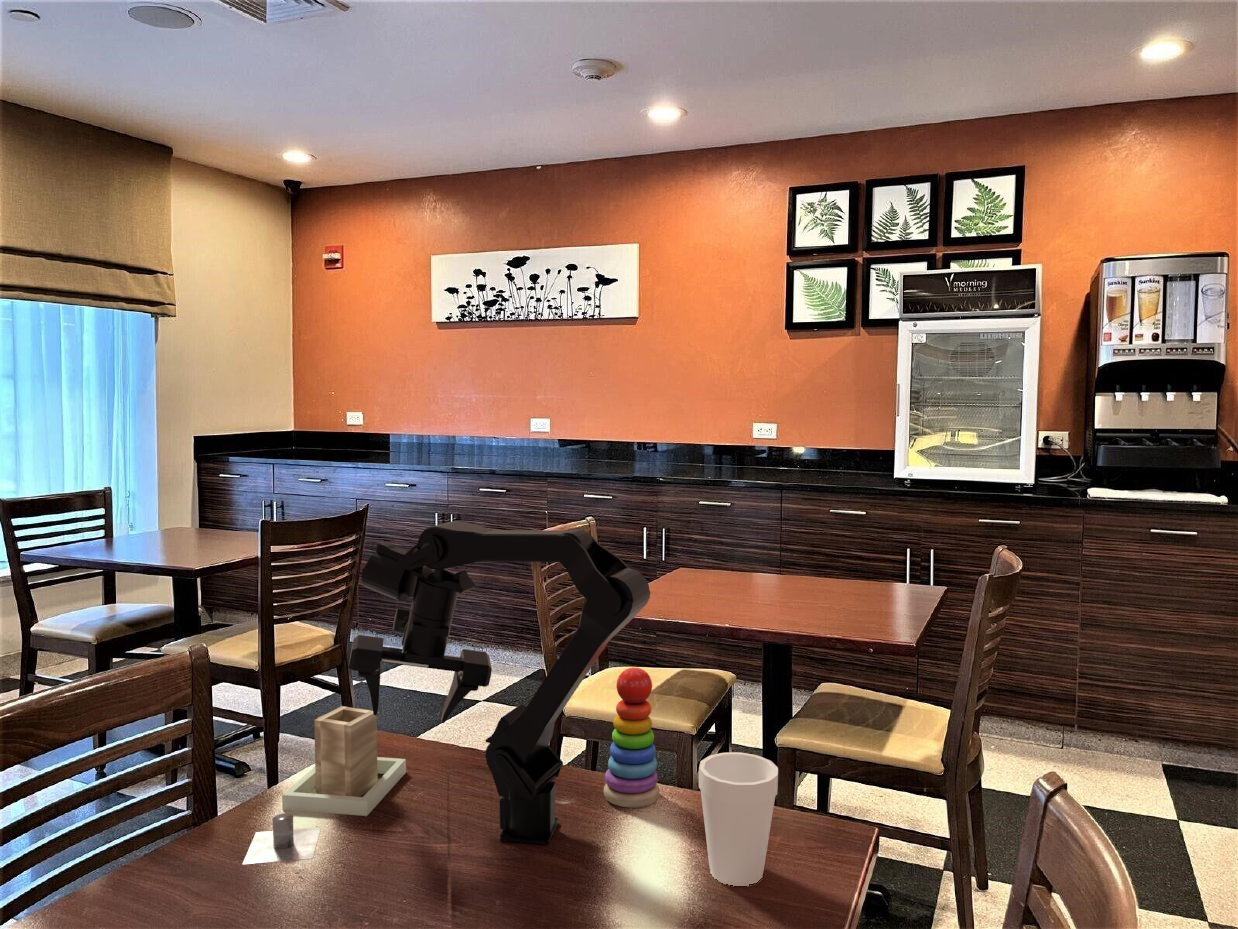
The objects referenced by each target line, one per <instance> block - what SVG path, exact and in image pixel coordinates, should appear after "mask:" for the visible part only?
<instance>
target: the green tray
mask: <svg viewBox="0 0 1238 929" xmlns="http://www.w3.org/2000/svg"><path fill="white" fill-rule="evenodd" d="M406 773H407V760H406V758H395V757H383V756H382V757H380V756H377V775H379V774H380V775H381V774H382V776H381V778H380V779H378V782H377V783H376V784H375V785H374V786H373V787H372V788H371V789H370V790H369V791H368V792H366V793H365V794H363V795H362V796H360V797H352V796H339V795H325V794H316V793H310V792H311V791H313V789H314V788H316V780H315V766H314V767H313V768H312V769H310V770H309V771H308V772H307V773H306V774H305V775H303V776H302V777H301V778H299V780H298V781H296V783H294V784H293V785H292V786H290V787H289V788H288V789H287V790H286V791H285V792H284V793H282V794H281V795H282V796H281V798H282V799H281V800H282V802H281V803H282V806H281V807H282V810H285V811H297V812H299V811H300V812H307V813H308V812H311V813H323V814H324V813H325V814H338V815H351V816H364V817H367V816H368V815H369V814H370V813H371V812H372V811H373V810H374V809H375V808H376V807H377V806H378V804H379V803H380V802H381V801H382V800H383V799H384V798H385V797H386V795H387V794H388V793H389V792H390V791H391V790H392V789H393V788H394V787H395V785H396V784H397V783H399V781H400V780H401V778H403V776H404V775H405V774H406Z"/></svg>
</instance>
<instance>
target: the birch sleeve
mask: <svg viewBox="0 0 1238 929" xmlns="http://www.w3.org/2000/svg"><path fill="white" fill-rule="evenodd" d="M377 715H378V714H377ZM377 715H374V714H373V710H369V709H363V708H357V707H356V708H355V707H349V706H344V705H342V706H341V705H340V707H337V708H336V709H334V710H331V711H329V712H327V713H326V714H323V715H320V716H318V717H317V718H316V719H314V765H315V766H314V767H315V780H316V786H315V794H325V795H339V796H352V797H363V796H364V795H365V794H366V793H367V792H368V791H369V790H370V789H371V788H372V787H373V786H374V785H375V784H376V783H377V782H378V781H379V779H378V773H377V757H378V724H377V723H378V716H377Z"/></svg>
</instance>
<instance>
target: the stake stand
mask: <svg viewBox="0 0 1238 929" xmlns="http://www.w3.org/2000/svg"><path fill="white" fill-rule="evenodd" d="M321 829H322V826H318V827H317V826H315V827H307V828H306V827H305V828H294V815H293V814H292V813H287V812H284V813H279V814H277V815H274V816H273V817H272V830H266V831H255V834H254V837H253V839H252V840H251V843H250V845H249V847H248V850H247V852H246V855H245V856H244V860H243V862H242V864H241V865H243V866H245V865H255V864H265V863H266V864H268V863H280V862H290V861H299V860H300V861H302V860H313V858H314V854H315V850H316V847H317V844H318V840H319V837H320V833H321V831H322V830H321Z"/></svg>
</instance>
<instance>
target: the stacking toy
mask: <svg viewBox="0 0 1238 929" xmlns="http://www.w3.org/2000/svg"><path fill="white" fill-rule="evenodd" d="M615 688H616V691H617V694H618V696H619V698H621V700H619V701H618V702H617V704H616V706H615V712H616V714H617V715H616V716H615V717H614V718H613V721H612V722H613V727H614V729H613V731H612V733H611V734H612V735H611V738H612V741H613V742H612V743H611V745H610V747H609V753H610V756H609V759H608V762H607V768H608V769H607V770H606V771H605V775H604V782H605V784H604V785H603V795H604V798H605V799H606V800H607V801H608V802H609V803H611V804H613V805H615V806H617V807H622V808H630V809H631V808H643V807H646V806H647V807H648V806H649V805H650V806H651V805H652V804H653V803H655V802H656V801H657V800H658V798H659V796H660V791H661V790H660V788H659V785H658V784H657V783H658V774H657V772H656V770H657V767H658V761H657V758H656V757H655V756H656V750H657V749H656V746H655V744H654V740H655V734H654V731H653V730H652V726H653V721H652V718H651V717H650V715H651V713H652V705H651V703H650V702H649V701H648V700H647V699H648V698H649V697H650V695H651V693H652V690H653V681H652V679H651V676H650V674H649V673H648V672H647V671H646V670H644V669H642V668H640V667H628V668H626V669H625V670H623V671H622V672H621V673H620V674H619V675H618V678H617V680H616V687H615Z"/></svg>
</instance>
